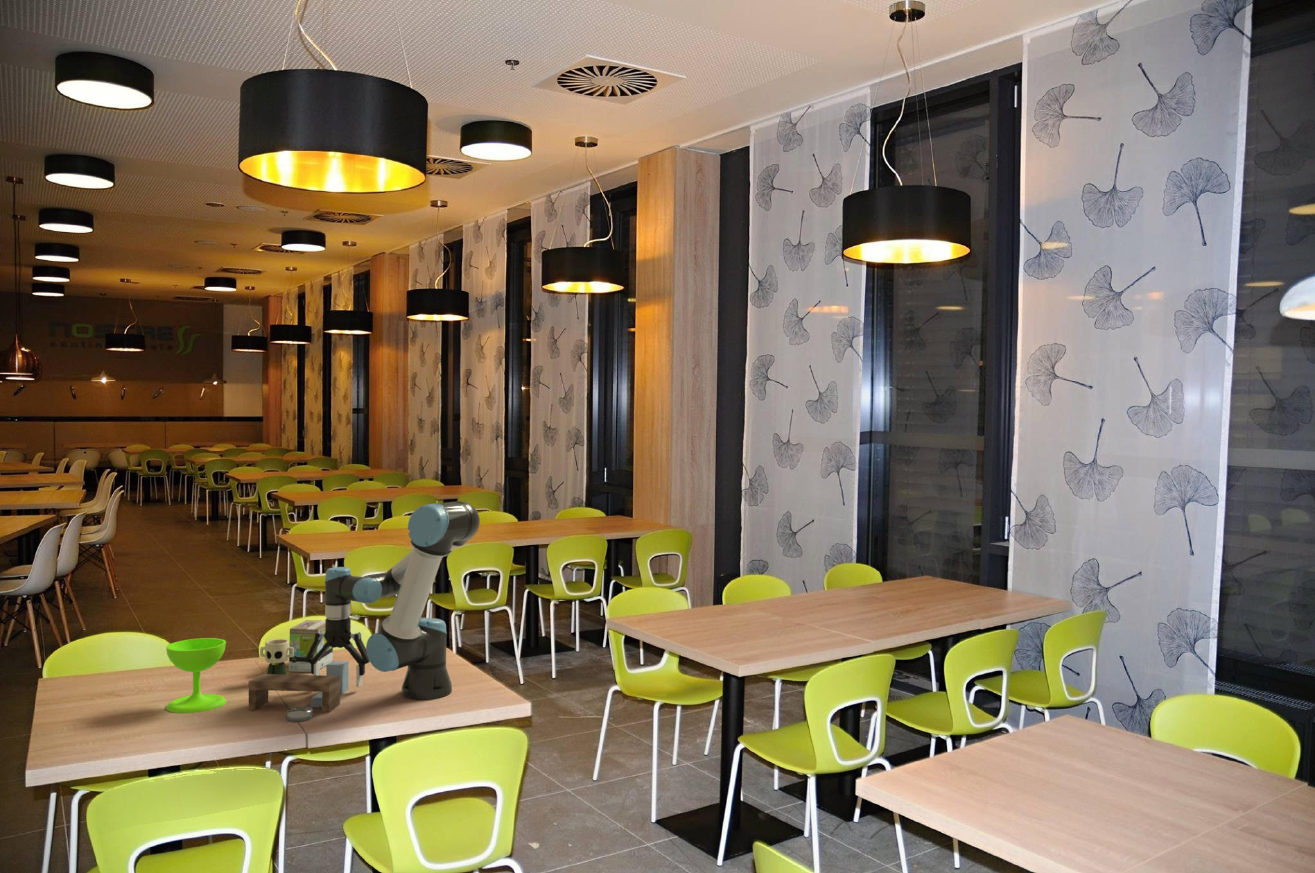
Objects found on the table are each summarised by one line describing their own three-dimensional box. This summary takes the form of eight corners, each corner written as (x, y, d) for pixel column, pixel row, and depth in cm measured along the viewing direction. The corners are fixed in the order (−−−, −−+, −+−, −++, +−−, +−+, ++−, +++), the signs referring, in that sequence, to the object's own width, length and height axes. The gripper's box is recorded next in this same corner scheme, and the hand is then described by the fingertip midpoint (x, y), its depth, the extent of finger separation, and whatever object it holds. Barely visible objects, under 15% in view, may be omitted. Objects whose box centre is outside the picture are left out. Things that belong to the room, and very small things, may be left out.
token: (316, 715, 272) (316, 706, 272) (307, 722, 265) (308, 713, 265) (292, 715, 272) (292, 706, 272) (282, 722, 265) (282, 713, 265)
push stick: (333, 689, 297) (332, 660, 297) (348, 689, 297) (348, 661, 297) (307, 706, 279) (307, 676, 279) (324, 707, 279) (324, 676, 278)
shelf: (339, 704, 282) (339, 675, 281) (328, 712, 274) (328, 683, 273) (261, 702, 283) (261, 673, 283) (248, 710, 275) (248, 681, 275)
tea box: (317, 672, 317) (317, 628, 317) (287, 672, 317) (288, 628, 317) (333, 661, 332) (333, 619, 332) (305, 660, 332) (305, 618, 332)
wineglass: (157, 705, 280) (157, 644, 280) (212, 693, 292) (212, 635, 291) (179, 716, 269) (179, 653, 269) (235, 704, 281) (235, 644, 281)
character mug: (255, 684, 302) (255, 643, 302) (264, 678, 309) (264, 638, 309) (289, 684, 302) (289, 644, 302) (297, 678, 309) (298, 639, 309)
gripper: (381, 615, 297) (381, 682, 298) (304, 614, 299) (304, 680, 300) (372, 620, 290) (372, 689, 290) (293, 619, 292) (293, 687, 292)
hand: (338, 685), depth 295 cm, fingers open, 13 cm apart
